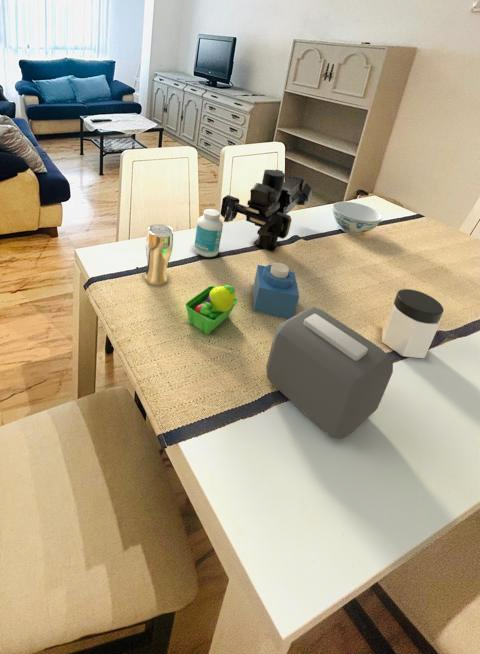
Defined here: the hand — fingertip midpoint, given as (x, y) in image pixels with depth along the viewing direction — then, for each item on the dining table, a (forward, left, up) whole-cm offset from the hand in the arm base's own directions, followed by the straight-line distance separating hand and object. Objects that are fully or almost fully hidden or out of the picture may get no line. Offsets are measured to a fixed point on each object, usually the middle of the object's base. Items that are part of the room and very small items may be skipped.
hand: (241, 226), depth 100 cm
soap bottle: (+2, +12, -17) cm, 20 cm away
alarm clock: (+24, +28, -17) cm, 40 cm away
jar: (-5, +39, -17) cm, 43 cm away
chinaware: (-57, +18, -17) cm, 62 cm away
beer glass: (+15, -15, -17) cm, 27 cm away
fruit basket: (+19, +4, -17) cm, 25 cm away
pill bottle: (-7, -12, -17) cm, 22 cm away
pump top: (+2, +12, -8) cm, 15 cm away
